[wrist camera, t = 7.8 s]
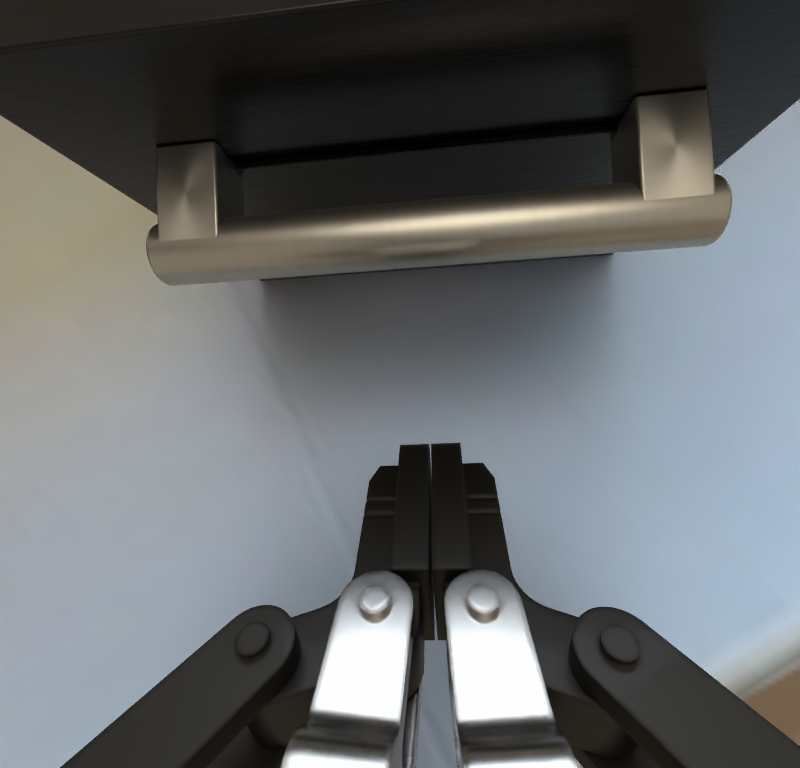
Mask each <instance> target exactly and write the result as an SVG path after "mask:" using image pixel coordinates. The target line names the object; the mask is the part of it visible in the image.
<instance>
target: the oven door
mask: <svg viewBox="0 0 800 768" xmlns="http://www.w3.org/2000/svg"><path fill="white" fill-rule="evenodd" d="M799 99H800V0H0V115H1V116H2V117H4V118H6V119H7V120H9V121H10V122H12V123H13V124H15V125H17V126H18V127H20V128H21V129H23V130H24V131H26V132H28V133H29V134H31V135H32V136H34V137H35V138H37V139H39V140H40V141H42V142H43V143H45V144H46V145H48V146H50V147H51V148H53V149H54V150H56V151H57V152H59V153H61V154H62V155H64V156H65V157H67V158H69V159H70V160H72V161H73V162H75V163H76V164H78V165H80V166H81V167H83V168H84V169H86V170H87V171H89V172H91V173H92V174H94V175H95V176H97V177H98V178H100V179H102V180H103V181H105V182H106V183H108V184H109V185H111V186H113V187H114V188H116V189H117V190H119V191H120V192H122V193H124V194H125V195H127V196H128V197H130V198H131V199H133V200H135V201H136V202H138V203H139V204H141V205H143V206H144V207H146V208H147V209H149V210H150V211H152V212H154V213H155V214H157V215H158V224H157V225H155V226H153V227H152V228H151V229H150V230H149V232H148V235H147V240H146V249H147V255H148V259H149V262H150V265H151V267H152V269H153V271H154V273H155V274H156V276H157V277H158V278H159V279H160V280H161V281H162V282H164V283H166V284H168V285H172V286H175V285H189V284H202V283H215V282H229V281H242V280H256V279H259V280H261V281H264V280H277V279H291V278H304V277H318V276H331V275H345V274H358V273H372V272H385V271H398V270H412V269H425V268H439V267H452V266H466V265H479V264H493V263H506V262H520V261H533V260H546V259H560V258H573V257H587V256H600V255H612V254H614V253H617V252H631V251H644V250H657V249H671V248H684V247H698V246H707V245H709V244H711V243H713V242H715V241H716V240H717V239H718V238H719V237H720V236H721V234H722V233H723V231H724V230H725V228H726V225H727V223H728V220H729V217H730V213H731V206H732V195H731V189H730V186H729V183H728V182H727V180H726V179H725V178H724V177H722V176H720V175H716V174H714V170H715V169H716V168H717V167H718V166H720V165H721V164H722V163H723V162H724V161H726V160H727V159H728V158H729V157H730V156H732V155H733V154H734V153H735V152H736V151H738V150H739V149H740V148H741V147H742V146H744V145H745V144H746V143H747V142H748V141H750V140H751V139H752V138H753V137H754V136H756V135H757V134H758V133H759V132H760V131H762V130H763V129H764V128H765V127H766V126H768V125H769V124H770V123H771V122H772V121H774V120H775V119H776V118H777V117H778V116H780V115H781V114H782V113H783V112H785V111H786V110H787V109H788V108H789V107H791V106H792V105H793V104H794V103H795V102H797V101H798V100H799Z"/></svg>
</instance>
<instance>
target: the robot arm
mask: <svg viewBox="0 0 800 768" xmlns="http://www.w3.org/2000/svg"><path fill="white" fill-rule="evenodd" d="M431 460H432V477H431V462H430V448H429V444H414V445H400V452H399V464H398V466H380V467H379V468H378V470H377V471H376V473H375V474H374V475H373V477H372V478H371V480H370V481H369V487H368V493H367V502H366V505H365V511H364V517H363V524H362V530H361V536H360V542H359V548H358V554H357V561H356V567H355V572H354V576H353V578H352V581H351V582H350V583H349V584H348V585H347V586H346V587H345V589H344V590H343V592H342V594H341V595H340V596H339V597H338V598H337V599H336V600H334V601H333V602H332V603H330V604H328V605H326V606H324V607H321V608H319V609H316V610H313V611H310V612H307V613H304V614H301V615H298V616H295V617H292V618H291V617H290V616H289V615H288V613H287V612H285V611H284V610H283V609H281V608H279V607H276V606H272V605H262V606H257V607H253V608H250V609H248V610H246V611H244V612H242V613H241V614H239V615H238V616H236V617H235V618H234V619H233V620H231V621H230V622H229V623H228V624H227V625H226V626H225V627H223V628H222V629H221V630H220V631H219V632H218V633H216V634H215V635H214V636H213V637H212V638H211V639H209V640H208V641H207V642H206V643H205V644H204V645H202V646H201V647H200V648H199V649H198V650H197V651H195V652H194V653H193V654H192V655H191V656H190V657H188V658H187V659H186V660H185V661H184V662H183V663H181V664H180V665H179V666H178V667H177V668H176V669H174V670H173V671H172V672H171V673H170V674H169V675H167V676H166V677H165V678H164V679H163V680H162V681H160V682H159V683H158V684H157V685H156V686H155V687H153V688H152V689H151V690H150V691H149V692H148V693H146V694H145V695H144V696H143V697H142V698H141V699H139V700H138V701H137V702H136V703H135V704H134V705H133V706H131V707H130V708H129V709H128V710H127V711H126V712H124V713H123V714H122V715H121V716H120V717H119V718H117V719H116V720H115V721H114V722H113V723H112V724H110V725H109V726H108V727H107V728H106V729H105V730H103V731H102V732H101V733H100V734H99V735H98V736H96V737H95V738H94V739H93V740H92V741H91V742H89V743H88V744H87V745H86V746H85V747H84V748H82V749H81V750H80V751H79V752H78V753H77V754H75V755H74V756H73V757H72V758H71V759H70V760H68V761H67V762H66V763H65V764H64V765H63V766H61V767H60V768H416V757H417V745H418V732H419V720H420V707H421V694H422V678H423V674H424V640H435V621H434V595H435V608H436V621H437V634H438V640H446V645H447V662H448V678H449V690H450V700H451V710H452V719H453V729H454V738H455V748H456V757H457V767H458V768H578V766H577V763H576V760H575V758H576V759H577V761H578V762H579V763H580V764H581V765H582V766H583V767H584V768H800V746H799V745H797V744H796V743H795V742H794V741H792V740H791V739H790V738H788V737H787V736H786V735H785V734H784V733H782V732H781V731H780V730H778V729H777V728H776V727H775V726H773V725H772V724H771V723H769V722H768V721H767V720H766V719H765V718H763V717H762V716H761V715H760V714H758V713H757V712H756V711H754V710H753V709H752V708H751V707H749V706H748V705H747V704H746V703H745V702H743V701H742V700H741V699H740V698H738V697H737V696H736V695H734V694H733V693H732V692H731V691H729V690H728V689H727V688H726V687H724V686H723V685H722V684H721V683H719V682H718V681H717V680H716V679H714V678H713V677H712V676H711V675H709V674H708V673H707V672H706V671H704V670H703V669H702V668H701V667H699V666H698V665H697V664H695V663H694V662H693V661H692V660H690V659H689V658H688V657H687V656H685V655H684V654H683V653H682V652H680V651H679V650H678V649H677V648H675V647H674V646H673V645H672V644H670V643H669V642H668V641H667V640H665V639H664V638H663V637H662V636H660V635H659V634H658V633H656V632H655V631H654V630H653V629H651V628H650V627H649V626H648V625H646V624H645V623H644V622H643V621H641V620H640V619H638V618H637V617H635V616H634V615H632V614H630V613H628V612H625V611H623V610H620V609H616V608H612V607H597V608H592V609H590V610H588V611H586V612H584V613H583V614H582V615H581V616H580V617H576V616H573V615H570V614H566V613H563V612H560V611H557V610H554V609H551V608H548V607H545V606H543V605H541V604H539V603H537V602H536V601H534V600H533V599H531V598H530V597H529V596H528V595H526V594H525V593H524V592H523V591H522V589H521V588H520V587H519V586H518V584H517V583H516V581H515V579H514V577H513V575H512V571H511V567H510V561H509V556H508V550H507V545H506V539H505V534H504V528H503V523H502V517H501V513H500V506H499V501H498V497H497V490H496V484H495V479H494V477H493V475H492V474H491V473H490V472H489V470H488V469H487V468H486V466H485V465H484V464H483V463H466V464H462V455H461V445H460V443H440V444H431Z"/></svg>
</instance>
